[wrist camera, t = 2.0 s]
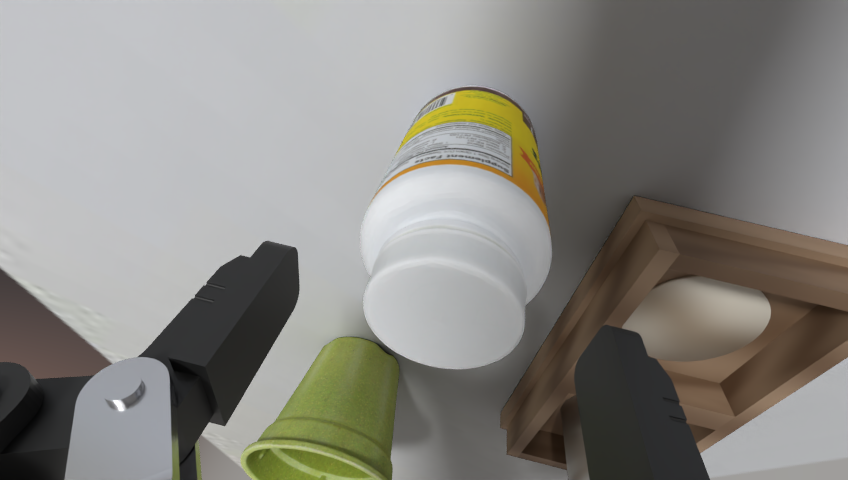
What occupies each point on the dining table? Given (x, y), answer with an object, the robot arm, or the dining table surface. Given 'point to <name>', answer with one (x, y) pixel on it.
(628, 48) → the dining table surface
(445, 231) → the supplement bottle
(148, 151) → the dining table surface
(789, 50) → the dining table surface
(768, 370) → the caddy
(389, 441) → the plant pot
